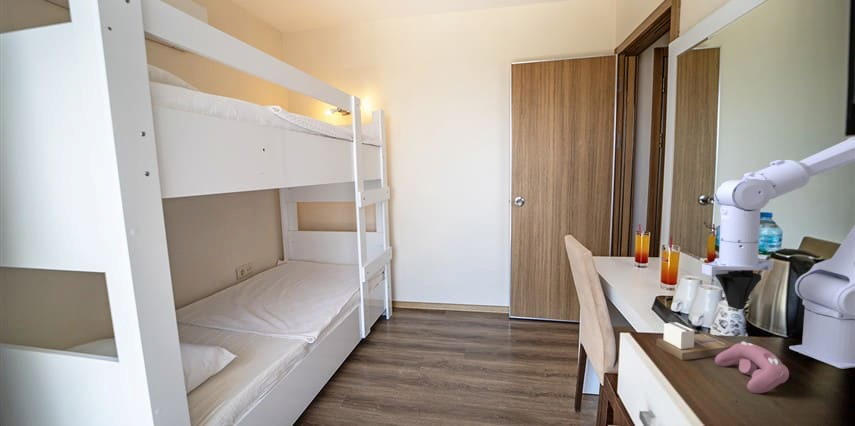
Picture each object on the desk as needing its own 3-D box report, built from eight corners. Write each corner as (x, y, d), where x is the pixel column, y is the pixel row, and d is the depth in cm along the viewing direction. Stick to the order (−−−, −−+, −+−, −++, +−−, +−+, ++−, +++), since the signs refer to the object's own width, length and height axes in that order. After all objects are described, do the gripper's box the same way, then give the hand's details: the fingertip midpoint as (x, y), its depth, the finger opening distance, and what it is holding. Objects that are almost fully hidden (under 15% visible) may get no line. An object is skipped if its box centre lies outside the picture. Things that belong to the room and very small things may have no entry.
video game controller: (776, 406, 55) (802, 370, 53) (748, 391, 55) (773, 356, 54) (734, 372, 64) (755, 341, 63) (710, 360, 65) (730, 329, 64)
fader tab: (675, 338, 71) (676, 321, 71) (693, 347, 67) (694, 329, 67) (663, 339, 71) (664, 322, 71) (680, 349, 67) (681, 330, 67)
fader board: (708, 339, 74) (708, 332, 74) (737, 352, 68) (738, 345, 68) (656, 345, 72) (656, 338, 72) (682, 360, 66) (682, 352, 66)
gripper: (747, 235, 72) (744, 297, 73) (688, 239, 70) (686, 304, 71) (787, 240, 65) (783, 309, 66) (723, 245, 63) (721, 316, 64)
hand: (735, 307), depth 68 cm, fingers closed
